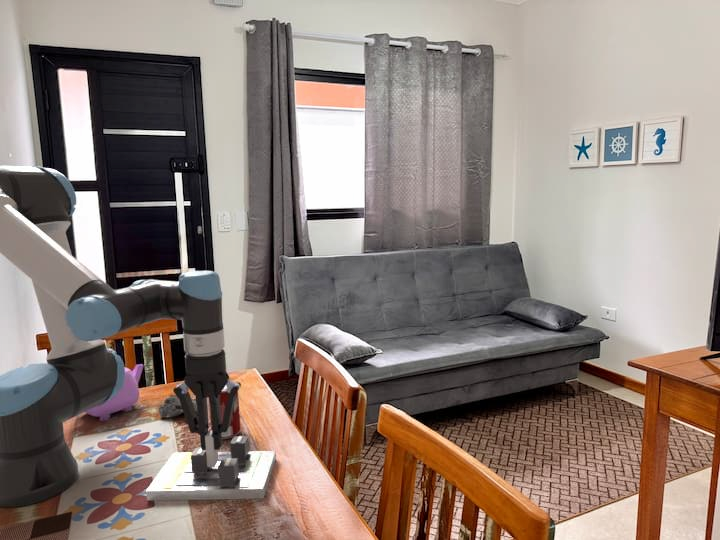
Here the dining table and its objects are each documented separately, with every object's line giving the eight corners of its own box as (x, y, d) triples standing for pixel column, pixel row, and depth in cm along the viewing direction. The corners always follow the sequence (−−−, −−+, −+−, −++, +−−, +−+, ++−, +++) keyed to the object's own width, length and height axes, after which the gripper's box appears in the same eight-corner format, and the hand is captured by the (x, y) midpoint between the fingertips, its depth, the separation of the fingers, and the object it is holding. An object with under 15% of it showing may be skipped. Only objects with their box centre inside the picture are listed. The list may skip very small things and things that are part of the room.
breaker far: (231, 459, 105) (230, 442, 104) (234, 451, 108) (233, 435, 107) (245, 458, 105) (244, 442, 104) (249, 451, 108) (248, 435, 107)
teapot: (84, 431, 125) (79, 382, 123) (61, 418, 132) (55, 372, 130) (158, 402, 141) (154, 358, 139) (133, 393, 148) (129, 351, 146)
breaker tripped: (192, 471, 100) (190, 454, 100) (196, 463, 103) (195, 446, 103) (207, 471, 100) (205, 454, 100) (211, 463, 103) (210, 446, 103)
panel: (147, 500, 96) (146, 489, 95) (174, 461, 109) (173, 452, 109) (263, 498, 95) (262, 487, 95) (276, 459, 109) (275, 450, 109)
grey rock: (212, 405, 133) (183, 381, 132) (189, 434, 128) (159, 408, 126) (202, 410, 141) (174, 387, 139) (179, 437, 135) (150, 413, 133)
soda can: (233, 442, 117) (229, 393, 115) (206, 440, 119) (202, 391, 117) (245, 429, 124) (242, 382, 122) (219, 427, 125) (216, 380, 123)
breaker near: (219, 484, 96) (217, 466, 95) (223, 475, 99) (222, 457, 98) (234, 483, 96) (233, 465, 95) (238, 475, 99) (237, 457, 98)
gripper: (164, 357, 95) (173, 474, 98) (233, 356, 94) (240, 473, 98) (178, 345, 102) (186, 454, 106) (242, 344, 102) (249, 453, 106)
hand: (212, 463), depth 102 cm, fingers closed
